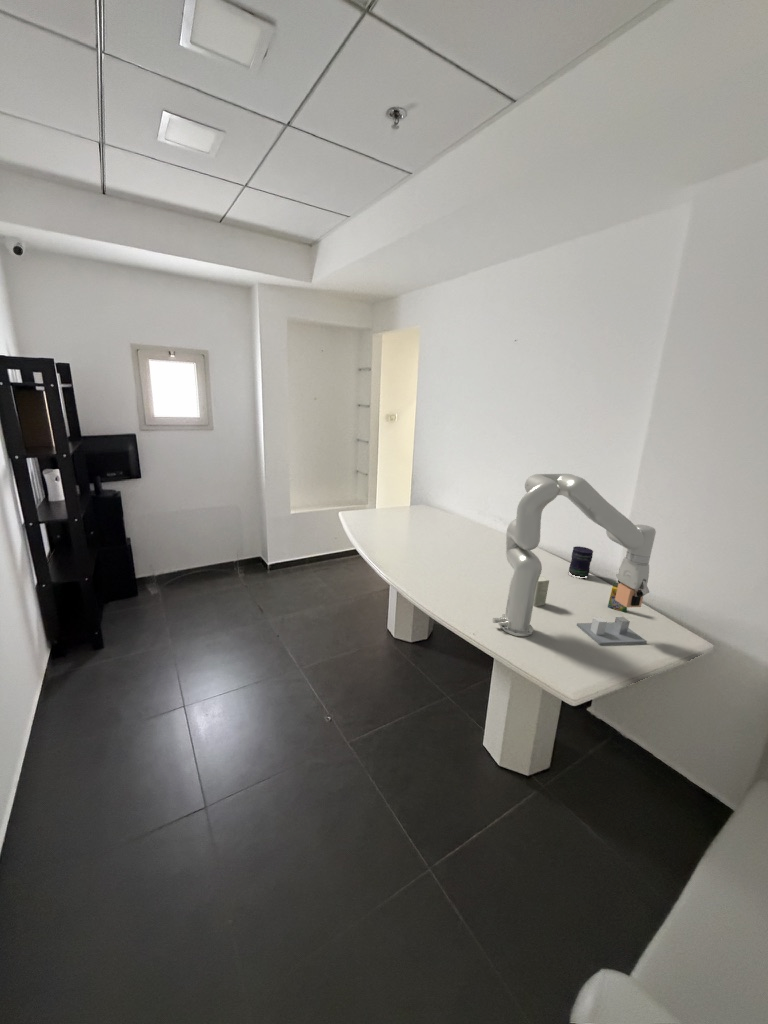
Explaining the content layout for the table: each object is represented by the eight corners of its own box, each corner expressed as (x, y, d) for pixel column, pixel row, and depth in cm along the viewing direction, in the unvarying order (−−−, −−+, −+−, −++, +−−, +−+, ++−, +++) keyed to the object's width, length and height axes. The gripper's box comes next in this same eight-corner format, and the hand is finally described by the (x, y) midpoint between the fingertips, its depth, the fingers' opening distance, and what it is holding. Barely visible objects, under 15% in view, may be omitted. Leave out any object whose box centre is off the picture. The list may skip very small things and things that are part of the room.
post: (619, 634, 156) (622, 621, 155) (613, 629, 159) (615, 617, 158) (626, 633, 157) (629, 621, 155) (620, 629, 160) (623, 616, 159)
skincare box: (538, 600, 183) (543, 576, 180) (545, 605, 178) (550, 580, 175) (527, 601, 181) (531, 577, 178) (533, 606, 177) (538, 581, 174)
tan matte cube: (626, 607, 152) (630, 590, 150) (614, 599, 157) (618, 583, 156) (640, 606, 153) (644, 590, 151) (628, 599, 158) (632, 583, 157)
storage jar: (583, 580, 209) (588, 554, 206) (564, 574, 216) (569, 548, 213) (591, 576, 216) (596, 550, 212) (572, 570, 223) (577, 545, 219)
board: (599, 645, 149) (603, 629, 148) (576, 625, 163) (579, 610, 161) (646, 643, 153) (650, 628, 151) (620, 624, 166) (623, 610, 164)
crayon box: (607, 607, 181) (612, 583, 178) (608, 605, 183) (613, 581, 180) (625, 612, 177) (631, 588, 174) (626, 610, 179) (632, 586, 176)
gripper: (612, 549, 158) (604, 591, 162) (646, 566, 141) (636, 612, 146) (629, 549, 159) (620, 591, 164) (665, 566, 143) (654, 611, 147)
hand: (628, 600), depth 155 cm, fingers closed on tan matte cube, 6 cm apart
